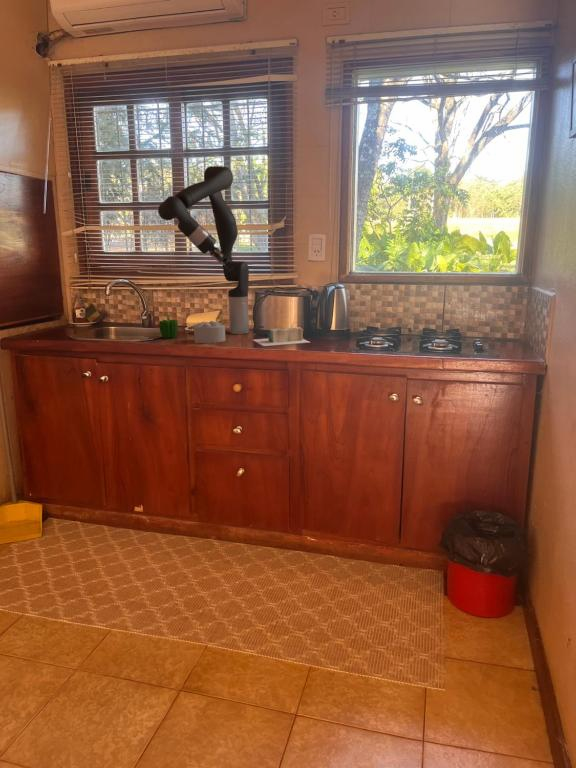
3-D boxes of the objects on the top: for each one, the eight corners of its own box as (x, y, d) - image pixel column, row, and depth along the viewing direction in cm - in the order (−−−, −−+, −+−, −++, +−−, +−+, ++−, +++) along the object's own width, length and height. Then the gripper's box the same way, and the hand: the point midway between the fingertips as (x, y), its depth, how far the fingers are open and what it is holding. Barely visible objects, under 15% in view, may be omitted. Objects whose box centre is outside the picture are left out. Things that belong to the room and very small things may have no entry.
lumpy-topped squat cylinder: (201, 339, 245) (200, 320, 243) (228, 340, 242) (228, 320, 240) (192, 343, 235) (191, 323, 233) (221, 344, 232) (220, 324, 230)
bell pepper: (175, 339, 245) (173, 317, 243) (157, 339, 246) (156, 317, 244) (181, 336, 253) (180, 314, 251) (164, 335, 254) (163, 314, 252)
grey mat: (252, 341, 239) (252, 339, 239) (296, 337, 246) (296, 336, 246) (263, 347, 224) (263, 345, 224) (310, 343, 232) (310, 342, 232)
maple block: (268, 329, 234) (298, 327, 239) (268, 340, 236) (298, 338, 241) (272, 331, 230) (302, 328, 235) (272, 342, 231) (302, 340, 236)
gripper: (211, 231, 213) (242, 263, 220) (204, 232, 225) (234, 262, 232) (198, 246, 212) (230, 277, 220) (192, 245, 224) (222, 275, 232)
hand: (232, 269), depth 226 cm, fingers closed
